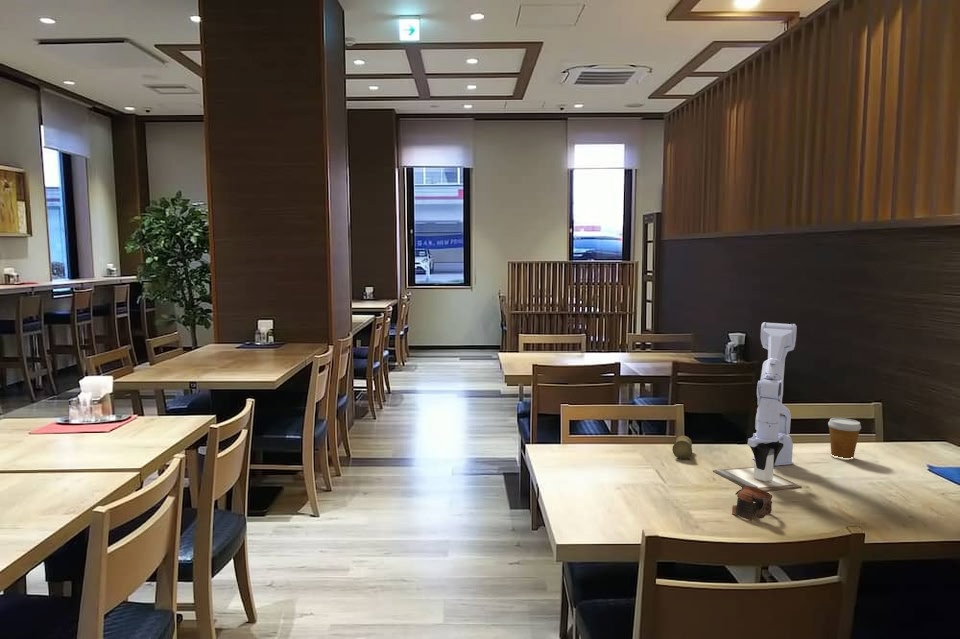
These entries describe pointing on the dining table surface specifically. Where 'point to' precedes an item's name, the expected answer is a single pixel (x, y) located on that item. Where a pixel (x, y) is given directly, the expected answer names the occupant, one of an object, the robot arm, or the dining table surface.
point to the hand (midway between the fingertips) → (765, 467)
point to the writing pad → (747, 478)
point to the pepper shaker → (682, 447)
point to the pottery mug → (746, 505)
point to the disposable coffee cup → (843, 436)
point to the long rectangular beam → (768, 471)
